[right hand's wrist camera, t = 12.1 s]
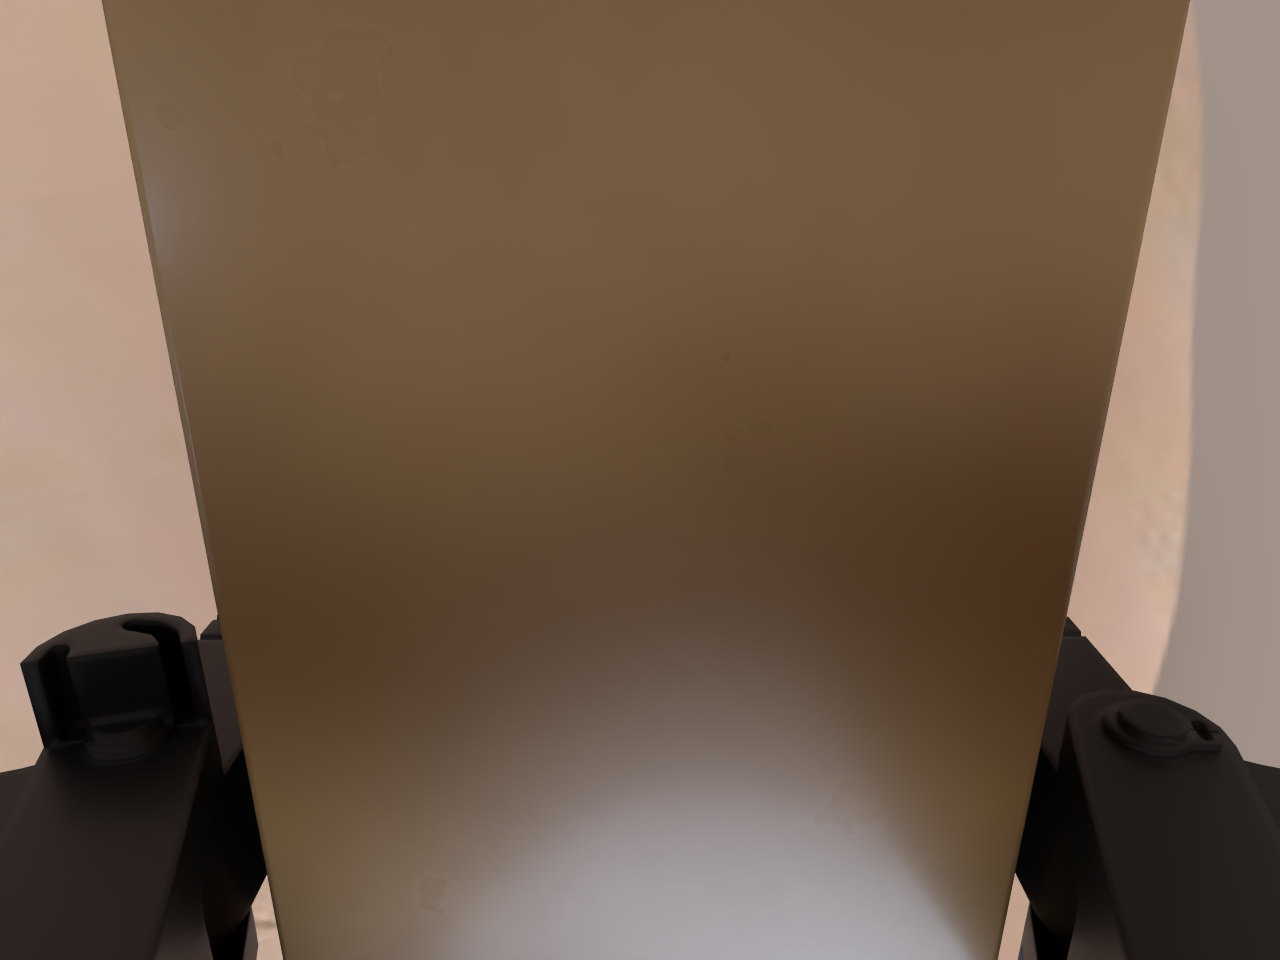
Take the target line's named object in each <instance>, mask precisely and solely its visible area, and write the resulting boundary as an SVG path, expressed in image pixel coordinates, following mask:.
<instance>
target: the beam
mask: <svg viewBox="0 0 1280 960" xmlns="http://www.w3.org/2000/svg"><path fill="white" fill-rule="evenodd" d="M1189 2H1190V0H102V5H103V10H104V15H105V20H106V26H107V31H108V36H109V42H110V47H111V52H112V57H113V63H114V68H115V73H116V79H117V84H118V89H119V94H120V100H121V105H122V110H123V115H124V121H125V126H126V131H127V137H128V142H129V147H130V152H131V158H132V163H133V168H134V174H135V179H136V184H137V189H138V195H139V200H140V205H141V211H142V216H143V221H144V226H145V232H146V237H147V242H148V247H149V253H150V258H151V263H152V269H153V274H154V279H155V284H156V290H157V295H158V300H159V306H160V311H161V316H162V321H163V327H164V332H165V337H166V343H167V348H168V353H169V358H170V364H171V369H172V374H173V380H174V385H175V390H176V395H177V401H178V406H179V411H180V416H181V422H182V427H183V432H184V438H185V443H186V448H187V453H188V459H189V464H190V469H191V475H192V480H193V485H194V490H195V496H196V501H197V506H198V512H199V517H200V522H201V527H202V533H203V538H204V543H205V548H206V554H207V559H208V564H209V570H210V575H211V580H212V585H213V591H214V596H215V601H216V607H217V612H218V617H219V622H220V628H221V633H222V638H223V644H224V649H225V654H226V659H227V665H228V670H229V675H230V681H231V686H232V691H233V696H234V702H235V707H236V712H237V717H238V723H239V728H240V733H241V739H242V744H243V749H244V754H245V760H246V765H247V770H248V776H249V781H250V786H251V791H252V797H253V802H254V807H255V813H256V818H257V823H258V828H259V834H260V839H261V844H262V849H263V855H264V860H265V865H266V871H267V876H268V881H269V886H270V892H271V897H272V902H273V908H274V913H275V918H276V923H277V929H278V934H279V939H280V945H281V950H282V955H283V960H998V955H999V950H1000V945H1001V940H1002V935H1003V930H1004V925H1005V920H1006V915H1007V910H1008V905H1009V900H1010V895H1011V890H1012V885H1013V880H1014V875H1015V870H1016V865H1017V860H1018V855H1019V850H1020V845H1021V840H1022V835H1023V830H1024V825H1025V820H1026V815H1027V810H1028V805H1029V800H1030V795H1031V790H1032V785H1033V780H1034V775H1035V770H1036V765H1037V760H1038V755H1039V750H1040V745H1041V740H1042V735H1043V730H1044V725H1045V720H1046V715H1047V710H1048V705H1049V700H1050V695H1051V690H1052V685H1053V680H1054V675H1055V670H1056V665H1057V660H1058V655H1059V650H1060V645H1061V640H1062V635H1063V630H1064V626H1065V621H1066V616H1067V611H1068V606H1069V601H1070V596H1071V591H1072V586H1073V581H1074V576H1075V571H1076V566H1077V561H1078V556H1079V551H1080V546H1081V541H1082V536H1083V531H1084V526H1085V521H1086V516H1087V511H1088V506H1089V501H1090V496H1091V491H1092V486H1093V481H1094V476H1095V471H1096V466H1097V461H1098V456H1099V451H1100V446H1101V441H1102V436H1103V431H1104V426H1105V421H1106V416H1107V411H1108V406H1109V401H1110V396H1111V391H1112V386H1113V381H1114V376H1115V371H1116V366H1117V361H1118V356H1119V351H1120V346H1121V341H1122V336H1123V331H1124V326H1125V321H1126V316H1127V311H1128V306H1129V301H1130V296H1131V291H1132V286H1133V281H1134V276H1135V271H1136V266H1137V261H1138V257H1139V252H1140V247H1141V242H1142V237H1143V232H1144V227H1145V222H1146V217H1147V212H1148V207H1149V202H1150V197H1151V192H1152V187H1153V182H1154V177H1155V172H1156V167H1157V162H1158V157H1159V152H1160V147H1161V142H1162V137H1163V132H1164V127H1165V122H1166V117H1167V112H1168V107H1169V102H1170V97H1171V92H1172V87H1173V82H1174V77H1175V72H1176V67H1177V62H1178V57H1179V52H1180V47H1181V42H1182V37H1183V32H1184V27H1185V22H1186V17H1187V12H1188V7H1189Z"/></svg>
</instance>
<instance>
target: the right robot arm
mask: <svg viewBox="0 0 1280 960" xmlns="http://www.w3.org/2000/svg"><path fill="white" fill-rule="evenodd" d="M20 666H21V669H22V673H23V676H24V680H25V683H26V686H27V690H28V693H29V697H30V700H31V704H32V707H33V711H34V714H35V718H36V721H37V725H38V728H39V732H40V735H41V739H42V742H43V746H44V748H43V750H42V752H41V754H40V756H39V758H38V760H37V762H36V764H35V765H33V766H30V767H26V768H22V769H17V770H11V771H6V772H1V773H0V960H256V958H257V950H258V941H257V934H256V927H255V922H254V917H253V912H252V907H251V905H252V903H253V901H254V899H255V897H256V895H257V893H258V891H259V889H260V887H261V885H262V883H263V881H264V879H265V877H266V875H267V871H266V865H265V860H264V855H263V849H262V844H261V839H260V834H259V828H258V823H257V818H256V813H255V807H254V802H253V797H252V791H251V786H250V781H249V776H248V770H247V765H246V760H245V754H244V749H243V744H242V739H241V733H240V728H239V723H238V717H237V712H236V707H235V702H234V696H233V691H232V686H231V681H230V675H229V670H228V665H227V659H226V654H225V649H224V644H223V638H222V633H221V628H220V622H219V617H218V615H217V620H213V621H212V622H211V623H210V624H209V625H208V627H207V628H206V629H205V630H204V631H203V632H202V633H201V635H200V640H197V635H196V630H195V626H193V625H192V624H191V623H189V622H188V621H186V620H185V619H183V618H182V617H179V616H174V615H169V614H163V613H158V612H157V613H132V614H124V615H119V616H114V617H109V618H104V619H99V620H95V621H92V622H89V623H86V624H84V625H81V626H78V627H75V628H72V629H70V630H67V631H64V632H62V633H60V634H59V635H57V636H55V637H53V638H52V639H50V640H48V641H46V642H45V643H43V644H41V645H39V646H37V647H36V648H35V649H34V650H33V651H32V652H31V653H30V654H29V655H28V656H27V657H26V658H25V659H24V660H23V661H22V662H21V663H20ZM1015 873H1016V875H1017V877H1018V879H1019V881H1020V883H1021V885H1022V887H1023V889H1024V891H1025V893H1026V895H1027V897H1028V899H1029V901H1030V902H1029V907H1028V912H1027V917H1026V922H1025V927H1024V931H1023V936H1022V941H1021V946H1020V951H1019V956H1018V960H1280V768H1275V767H1270V766H1265V765H1260V764H1256V763H1252V762H1248V761H1244V760H1243V758H1242V757H1241V755H1240V753H1239V751H1238V749H1237V747H1236V745H1235V744H1234V743H1233V742H1232V741H1231V739H1230V738H1229V737H1228V736H1227V735H1226V733H1225V732H1224V731H1223V730H1222V729H1221V727H1219V726H1218V725H1216V724H1215V723H1213V722H1212V721H1210V720H1209V719H1207V718H1206V717H1204V716H1203V715H1201V714H1200V713H1198V712H1197V711H1195V710H1193V709H1190V708H1188V707H1185V706H1183V705H1181V704H1178V703H1176V702H1174V701H1171V700H1169V699H1166V698H1163V697H1159V696H1155V695H1150V694H1146V693H1142V692H1138V691H1132V689H1131V688H1130V687H1129V686H1128V685H1127V684H1126V683H1125V681H1124V680H1123V679H1122V678H1121V677H1120V676H1119V675H1118V673H1117V672H1116V671H1115V670H1114V669H1113V668H1112V666H1111V665H1110V664H1109V663H1108V662H1107V661H1106V660H1105V658H1104V657H1103V656H1102V655H1101V654H1100V653H1099V652H1098V650H1097V649H1096V648H1095V647H1094V646H1093V645H1092V644H1091V642H1090V641H1089V640H1088V639H1087V638H1086V637H1085V636H1081V631H1080V630H1079V629H1078V627H1077V626H1076V625H1075V624H1074V623H1073V622H1072V621H1071V619H1070V618H1069V617H1066V621H1065V626H1064V630H1063V635H1062V640H1061V645H1060V650H1059V655H1058V660H1057V665H1056V670H1055V675H1054V680H1053V685H1052V690H1051V695H1050V700H1049V705H1048V710H1047V715H1046V720H1045V725H1044V730H1043V735H1042V740H1041V745H1040V750H1039V755H1038V760H1037V765H1036V770H1035V775H1034V780H1033V785H1032V790H1031V795H1030V800H1029V805H1028V810H1027V815H1026V820H1025V825H1024V830H1023V835H1022V840H1021V845H1020V850H1019V855H1018V860H1017V865H1016V870H1015Z"/></svg>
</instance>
